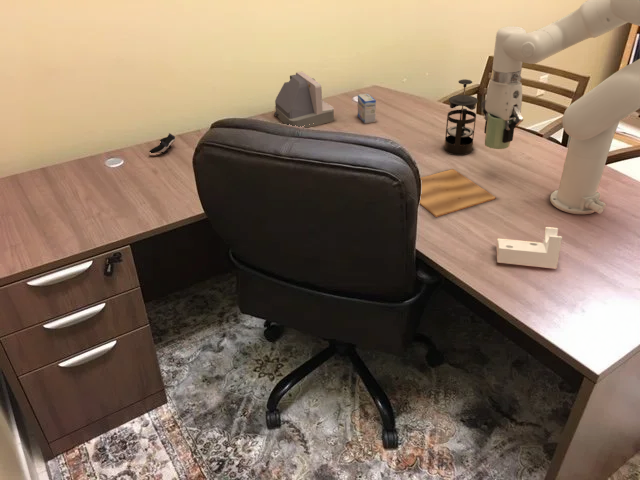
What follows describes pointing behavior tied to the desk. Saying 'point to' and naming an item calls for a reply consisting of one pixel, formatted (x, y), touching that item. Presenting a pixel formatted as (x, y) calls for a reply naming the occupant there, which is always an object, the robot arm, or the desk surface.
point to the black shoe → (163, 145)
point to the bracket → (531, 250)
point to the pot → (495, 132)
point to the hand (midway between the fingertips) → (498, 136)
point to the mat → (450, 193)
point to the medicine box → (366, 108)
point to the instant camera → (302, 102)
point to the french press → (461, 124)
